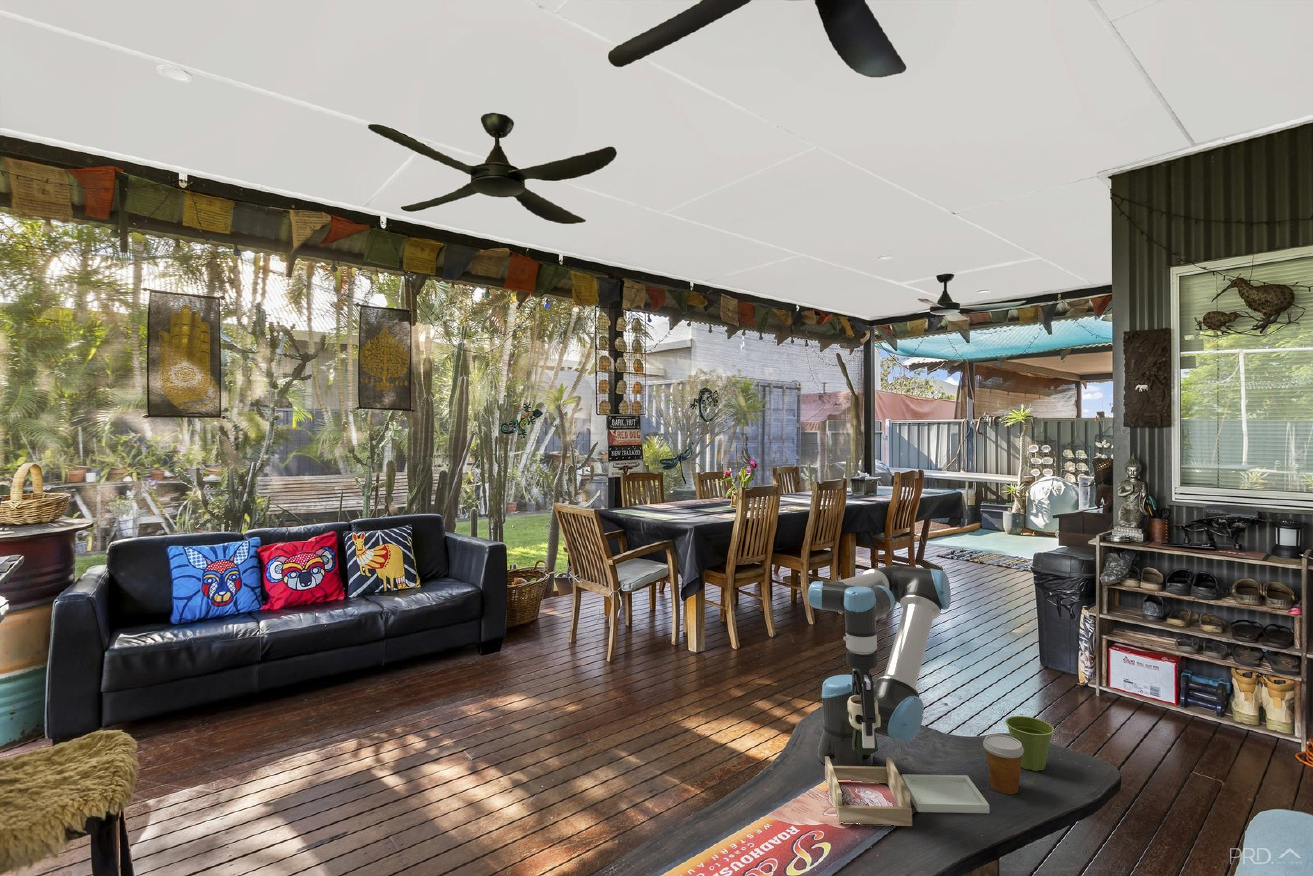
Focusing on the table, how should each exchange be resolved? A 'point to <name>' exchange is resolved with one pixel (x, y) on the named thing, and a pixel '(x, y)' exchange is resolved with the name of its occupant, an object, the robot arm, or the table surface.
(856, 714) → the character mug
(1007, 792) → the disposable coffee cup
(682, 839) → the table surface
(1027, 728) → the plant pot
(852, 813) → the wooden frame
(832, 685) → the robot arm
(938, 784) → the tray
